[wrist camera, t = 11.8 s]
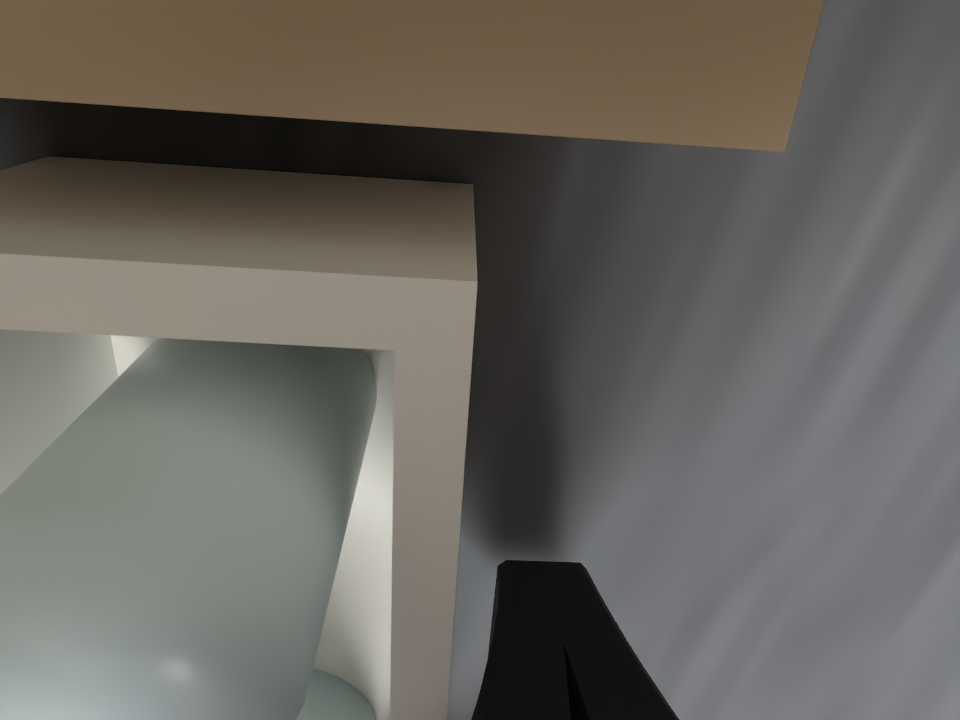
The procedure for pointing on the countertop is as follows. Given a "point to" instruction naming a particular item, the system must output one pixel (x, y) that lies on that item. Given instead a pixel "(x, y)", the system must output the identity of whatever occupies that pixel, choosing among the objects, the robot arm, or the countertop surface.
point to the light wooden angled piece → (432, 63)
